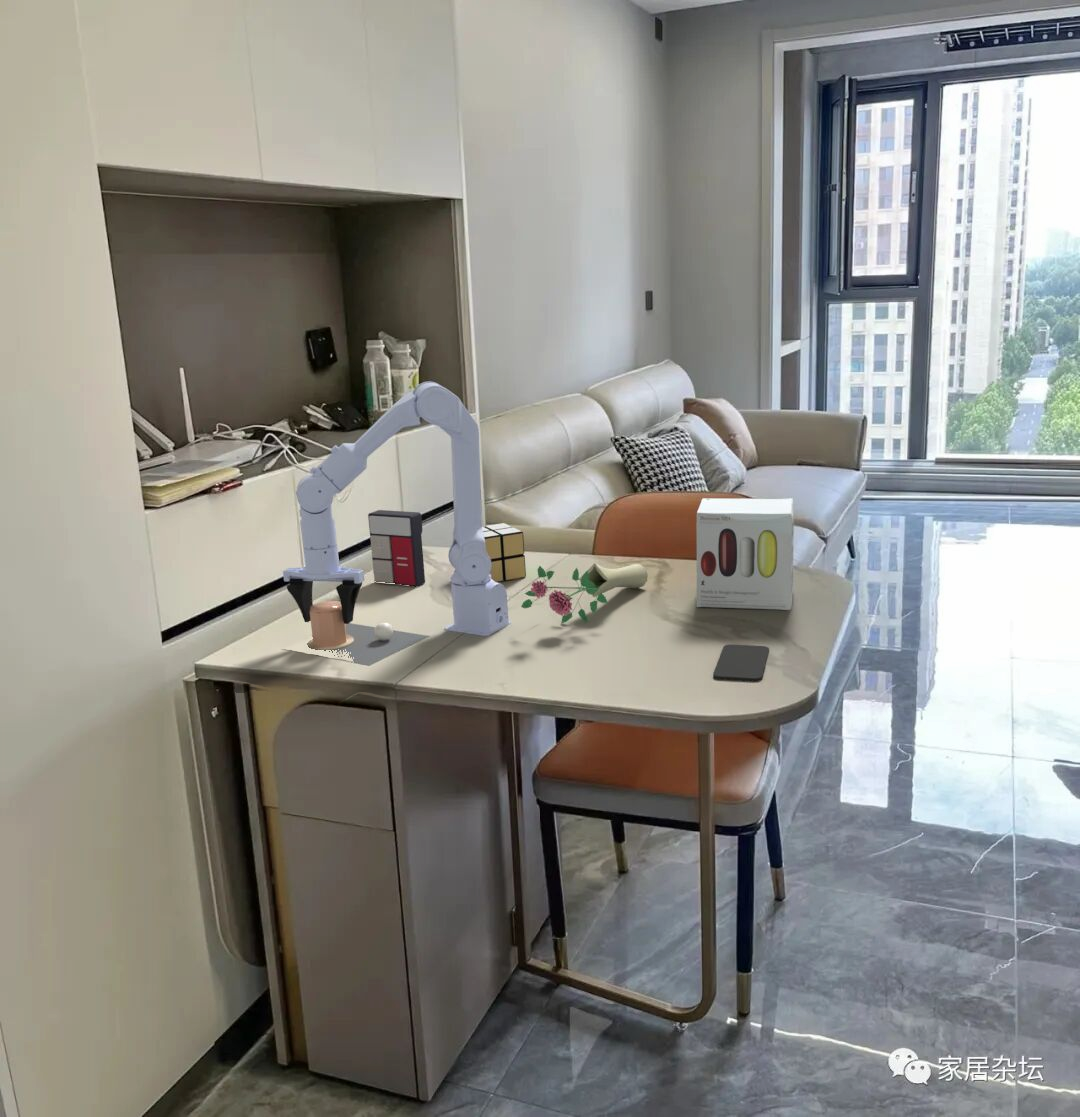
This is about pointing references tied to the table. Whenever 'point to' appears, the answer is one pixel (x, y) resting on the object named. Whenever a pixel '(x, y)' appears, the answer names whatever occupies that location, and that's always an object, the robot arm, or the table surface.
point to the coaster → (347, 643)
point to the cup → (327, 624)
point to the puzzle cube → (505, 552)
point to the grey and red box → (397, 547)
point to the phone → (741, 663)
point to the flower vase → (588, 587)
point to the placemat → (376, 644)
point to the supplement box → (745, 553)
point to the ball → (383, 631)
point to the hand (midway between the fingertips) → (328, 621)
